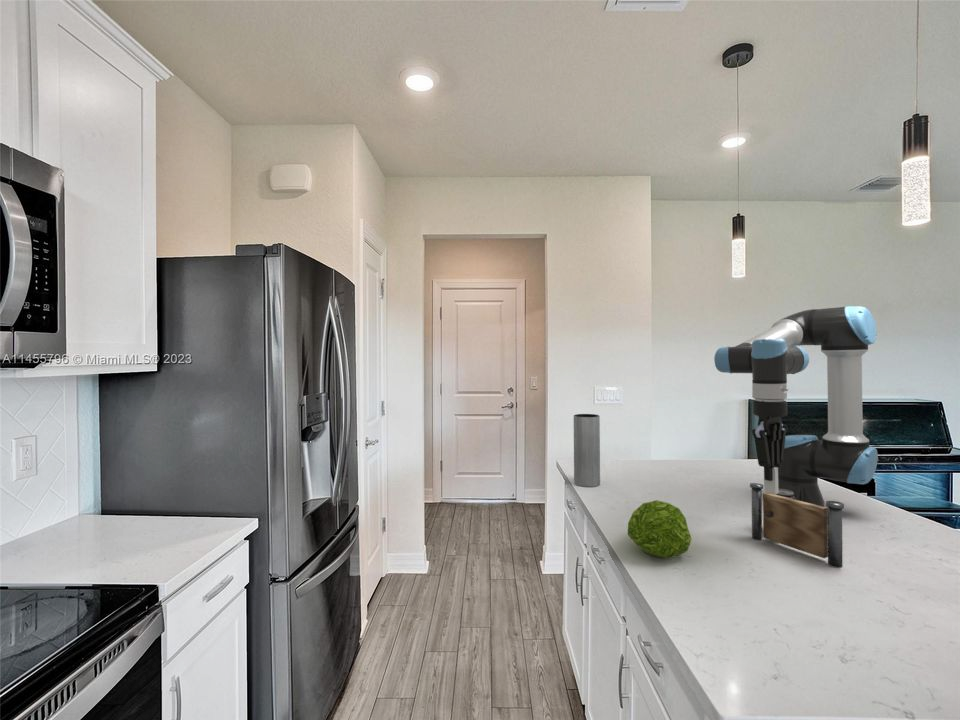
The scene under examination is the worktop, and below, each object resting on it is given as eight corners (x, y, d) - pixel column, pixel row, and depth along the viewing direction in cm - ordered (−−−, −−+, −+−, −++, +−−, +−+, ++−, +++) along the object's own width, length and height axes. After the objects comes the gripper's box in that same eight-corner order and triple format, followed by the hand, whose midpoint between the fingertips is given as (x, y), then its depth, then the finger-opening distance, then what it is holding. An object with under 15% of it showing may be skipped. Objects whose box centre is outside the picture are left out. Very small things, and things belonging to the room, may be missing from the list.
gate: (828, 556, 117) (827, 507, 117) (821, 559, 116) (821, 509, 116) (767, 536, 131) (767, 492, 130) (760, 538, 129) (760, 493, 129)
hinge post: (830, 560, 117) (830, 500, 117) (847, 566, 114) (847, 504, 114) (822, 563, 116) (822, 502, 116) (839, 569, 113) (839, 506, 112)
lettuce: (696, 540, 134) (685, 489, 137) (694, 562, 112) (681, 501, 115) (641, 543, 140) (632, 494, 143) (629, 564, 118) (618, 507, 121)
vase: (602, 487, 185) (602, 416, 185) (576, 487, 185) (576, 417, 185) (596, 480, 195) (596, 413, 195) (572, 480, 195) (571, 413, 195)
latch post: (754, 535, 134) (754, 482, 134) (766, 539, 131) (765, 485, 131) (747, 537, 133) (747, 483, 133) (758, 541, 130) (758, 486, 130)
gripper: (771, 403, 115) (773, 501, 116) (798, 398, 122) (799, 491, 123) (740, 400, 122) (742, 493, 122) (767, 396, 129) (769, 484, 129)
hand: (771, 492), depth 122 cm, fingers closed
